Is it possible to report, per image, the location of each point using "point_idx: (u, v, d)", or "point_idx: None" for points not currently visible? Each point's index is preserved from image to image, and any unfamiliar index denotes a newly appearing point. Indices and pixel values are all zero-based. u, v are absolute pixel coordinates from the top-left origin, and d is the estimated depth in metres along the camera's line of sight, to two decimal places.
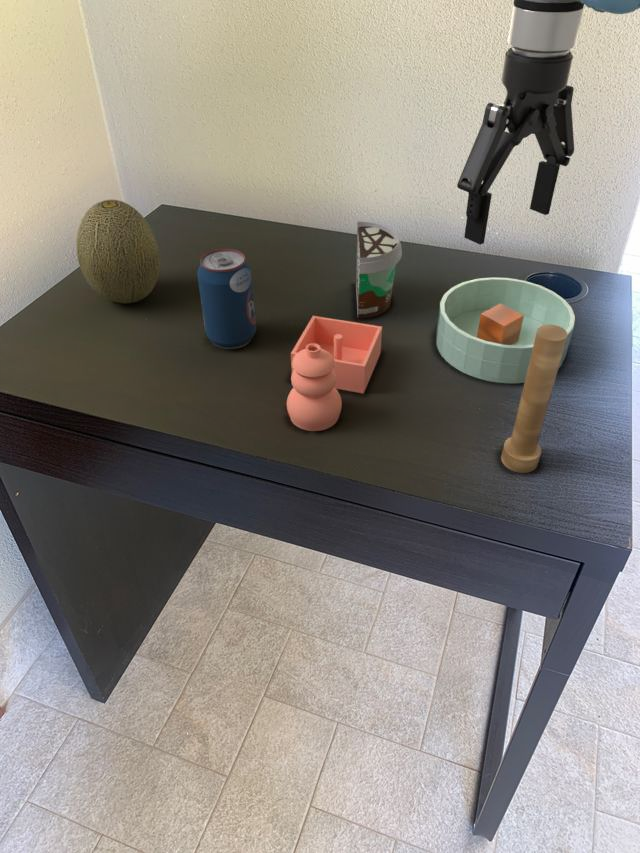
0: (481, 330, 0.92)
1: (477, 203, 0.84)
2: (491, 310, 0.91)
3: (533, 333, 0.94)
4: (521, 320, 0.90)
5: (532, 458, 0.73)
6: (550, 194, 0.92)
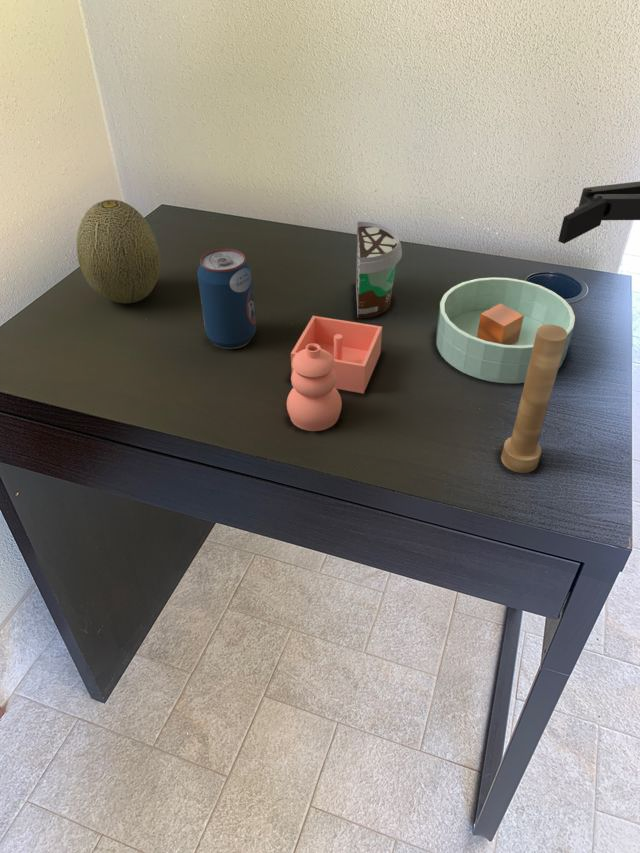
0: (481, 330, 0.92)
1: (586, 204, 0.73)
2: (491, 310, 0.91)
3: (533, 333, 0.94)
4: (521, 320, 0.90)
5: (532, 458, 0.73)
6: None
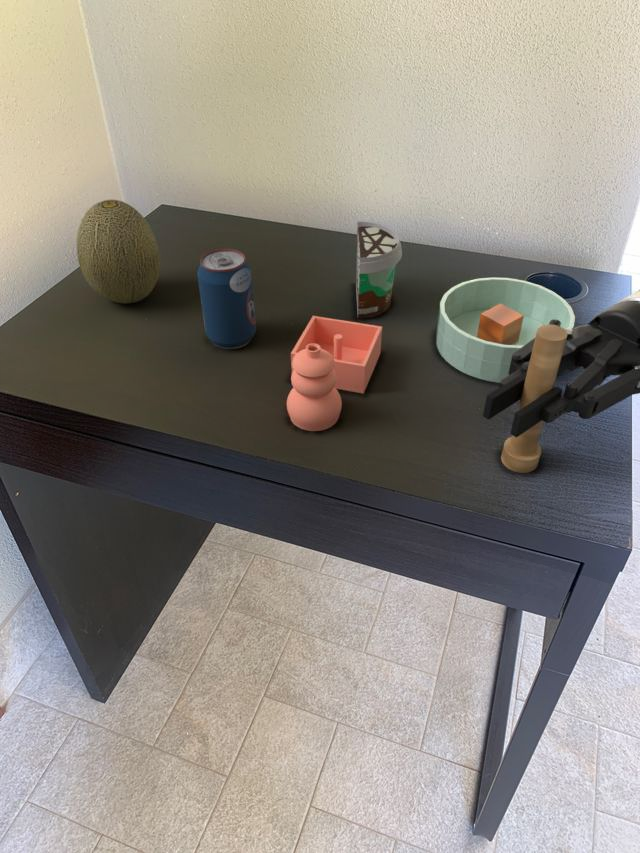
0: (481, 330, 0.92)
1: (513, 374, 0.71)
2: (491, 310, 0.91)
3: (533, 333, 0.94)
4: (521, 320, 0.90)
5: (532, 458, 0.73)
6: (534, 401, 0.67)
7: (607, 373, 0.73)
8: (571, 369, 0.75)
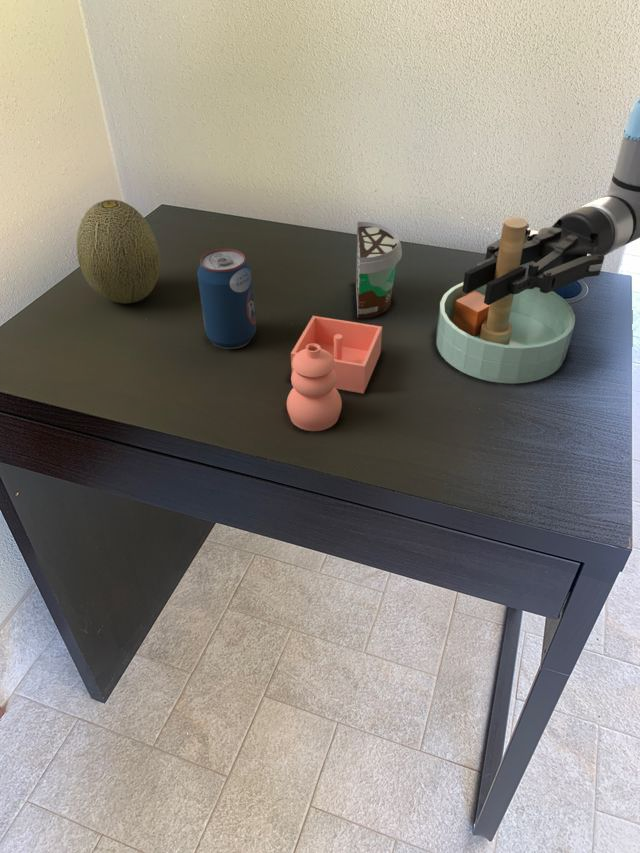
0: (456, 317, 0.94)
1: (488, 259, 0.87)
2: (466, 297, 0.93)
3: (533, 333, 0.94)
4: None
5: (504, 333, 0.90)
6: (503, 276, 0.83)
7: (565, 261, 0.89)
8: (536, 261, 0.91)
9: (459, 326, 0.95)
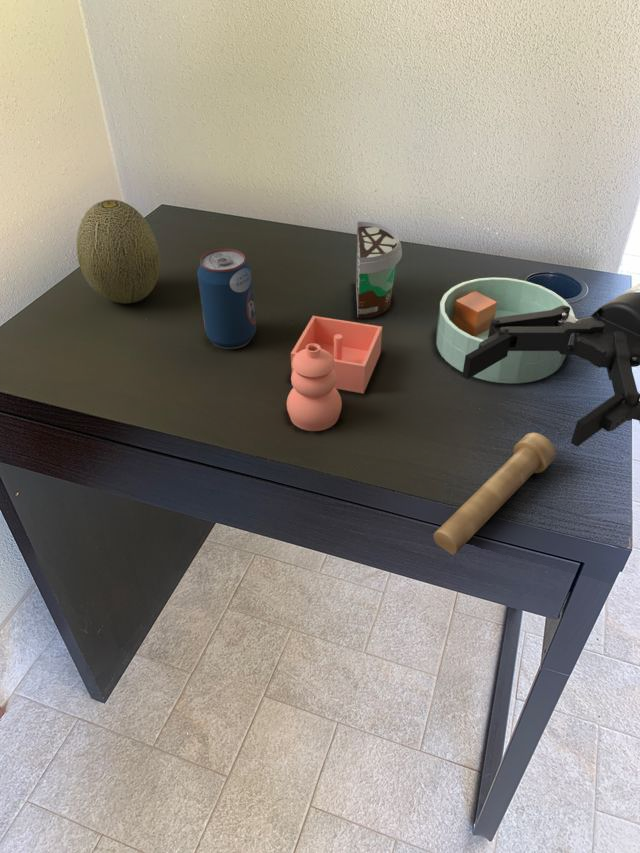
0: (456, 317, 0.94)
1: (492, 337, 0.74)
2: (466, 297, 0.93)
3: None
4: (495, 307, 0.93)
5: None
6: (596, 409, 0.64)
7: (610, 365, 0.72)
8: (562, 352, 0.76)
9: (459, 326, 0.95)
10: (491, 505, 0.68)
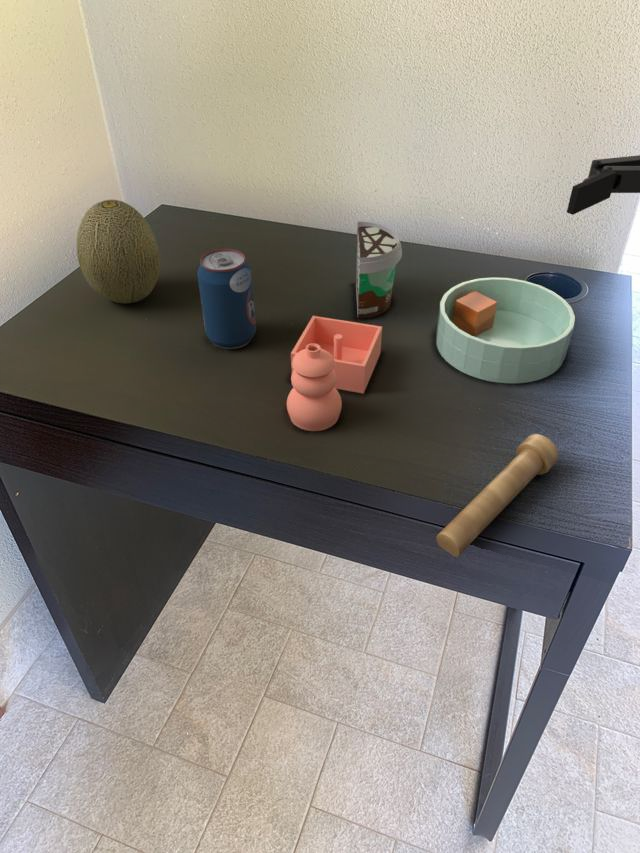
0: (456, 317, 0.94)
1: (595, 175, 0.71)
2: (466, 297, 0.93)
3: (533, 333, 0.94)
4: (495, 307, 0.93)
5: None
6: None
7: None
8: None
9: (459, 326, 0.95)
10: (495, 510, 0.68)
